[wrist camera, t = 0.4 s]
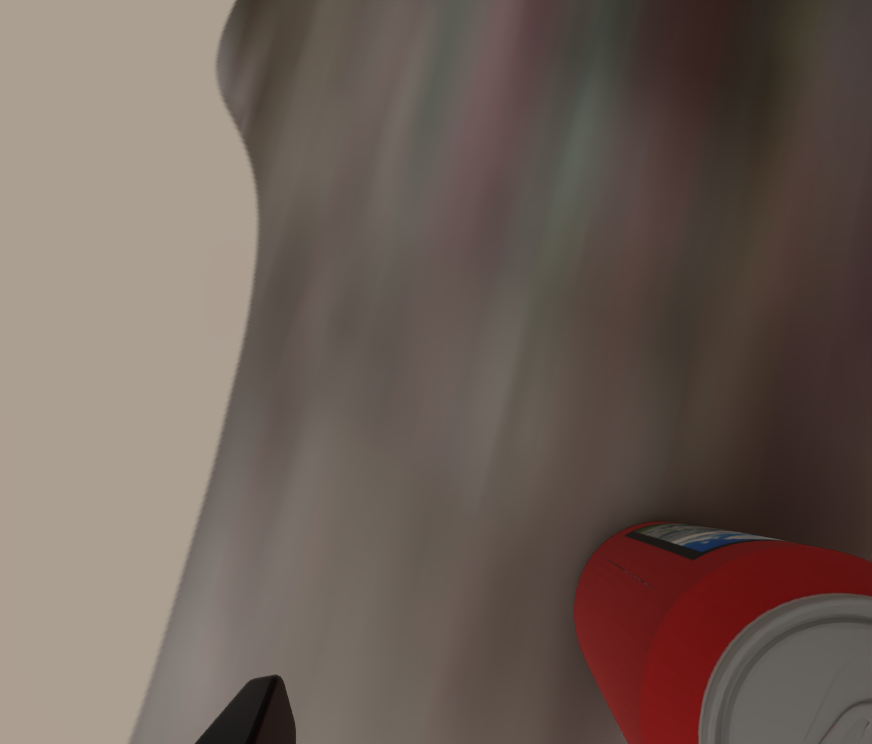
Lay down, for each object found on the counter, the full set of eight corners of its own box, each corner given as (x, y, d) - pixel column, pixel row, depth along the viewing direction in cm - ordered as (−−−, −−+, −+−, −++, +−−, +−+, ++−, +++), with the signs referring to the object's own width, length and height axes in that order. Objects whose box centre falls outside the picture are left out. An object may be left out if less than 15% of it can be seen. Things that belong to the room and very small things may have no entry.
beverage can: (798, 608, 20) (1211, 770, 9) (681, 757, 20) (953, 1149, 8) (646, 481, 22) (822, 472, 10) (532, 617, 21) (579, 774, 9)
